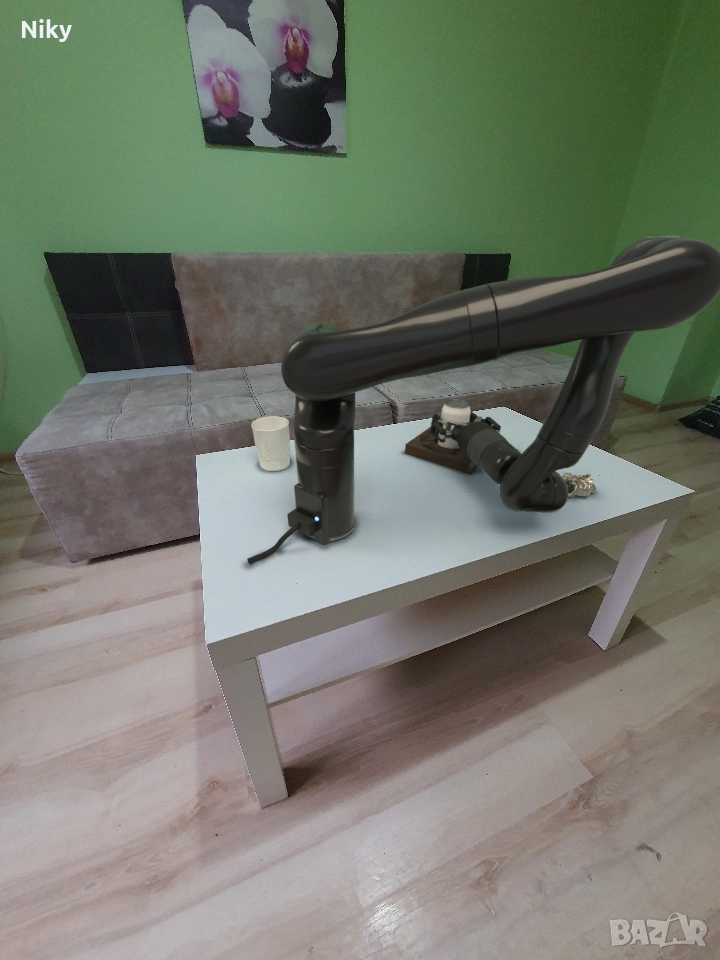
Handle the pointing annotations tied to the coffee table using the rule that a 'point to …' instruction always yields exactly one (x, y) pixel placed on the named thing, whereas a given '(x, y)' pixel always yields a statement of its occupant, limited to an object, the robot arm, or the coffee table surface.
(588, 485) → the ornament
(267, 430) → the white cup
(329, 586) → the coffee table surface
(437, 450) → the base pad
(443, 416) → the can
